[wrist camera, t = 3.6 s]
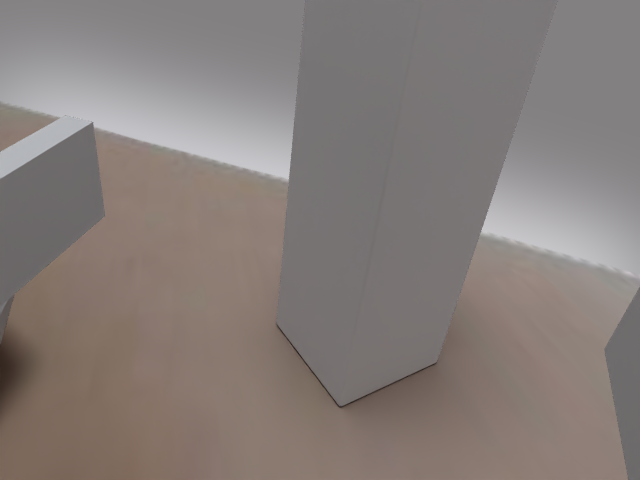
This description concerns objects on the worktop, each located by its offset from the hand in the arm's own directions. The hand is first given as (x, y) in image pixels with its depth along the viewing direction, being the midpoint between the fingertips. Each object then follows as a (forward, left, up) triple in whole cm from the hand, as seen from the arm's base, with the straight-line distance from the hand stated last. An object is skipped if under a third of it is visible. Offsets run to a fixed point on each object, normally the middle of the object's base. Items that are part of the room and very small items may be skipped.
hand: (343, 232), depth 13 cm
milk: (-5, +8, -13) cm, 16 cm away
